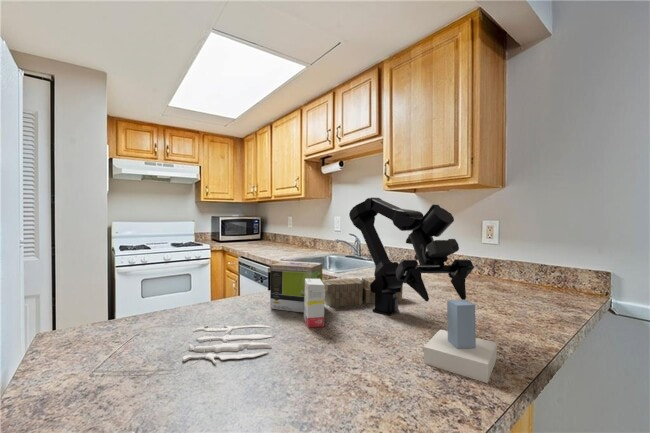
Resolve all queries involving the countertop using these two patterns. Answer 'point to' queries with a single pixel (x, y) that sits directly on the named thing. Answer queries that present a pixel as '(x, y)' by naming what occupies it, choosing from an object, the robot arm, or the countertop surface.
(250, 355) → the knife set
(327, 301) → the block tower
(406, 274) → the robot arm
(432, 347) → the base block
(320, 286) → the ink box
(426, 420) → the countertop surface
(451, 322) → the blue pillar
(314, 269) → the tea box
